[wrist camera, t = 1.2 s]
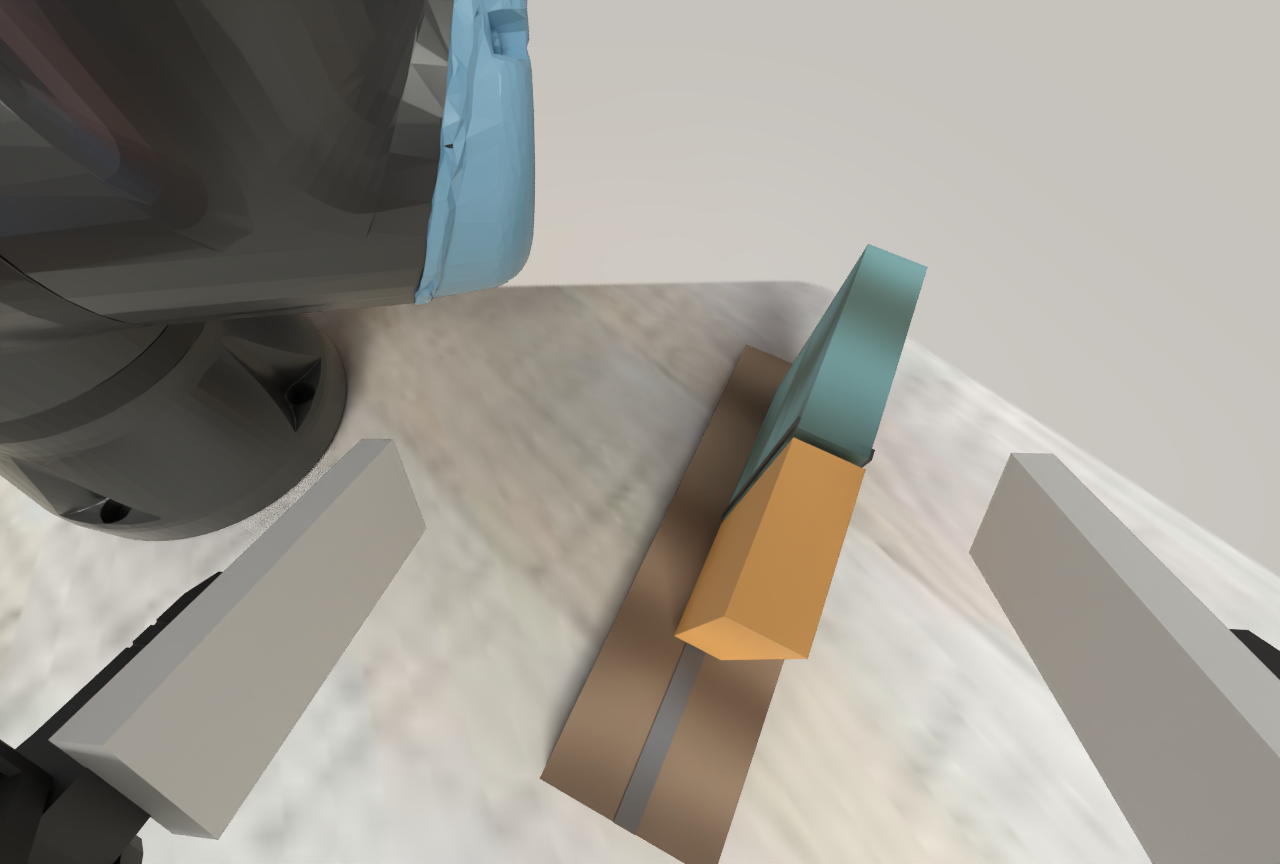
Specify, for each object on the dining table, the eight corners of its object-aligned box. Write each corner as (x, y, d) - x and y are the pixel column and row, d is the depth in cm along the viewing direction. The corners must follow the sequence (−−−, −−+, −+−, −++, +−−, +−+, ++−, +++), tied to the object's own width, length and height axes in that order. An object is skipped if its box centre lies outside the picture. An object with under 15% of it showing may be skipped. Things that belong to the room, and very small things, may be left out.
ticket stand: (705, 866, 22) (824, 1106, 10) (543, 771, 23) (477, 887, 11) (858, 408, 32) (1006, 259, 20) (740, 357, 33) (816, 187, 21)
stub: (720, 660, 23) (807, 658, 13) (674, 635, 24) (724, 616, 14) (764, 544, 26) (865, 469, 16) (721, 523, 26) (793, 437, 16)
